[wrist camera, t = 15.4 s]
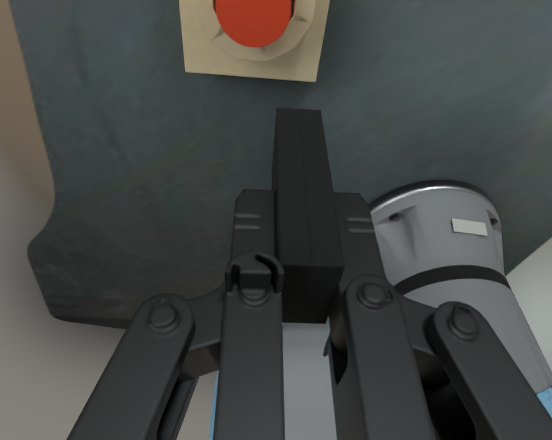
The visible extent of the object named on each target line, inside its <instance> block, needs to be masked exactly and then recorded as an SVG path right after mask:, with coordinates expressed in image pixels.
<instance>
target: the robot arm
mask: <svg viewBox="0 0 552 440" xmlns="http://www.w3.org/2000/svg"><path fill="white" fill-rule="evenodd" d="M328 315H329V317H328ZM217 370H218V373H217V378H216V383H215V388H214V395H213V402H212V410H211V418H210V430H209V440H552V372H551V370H550V368H549V365H548V363H547V362H546V359H545V357H544V355H543V353H542V351H541V349H540V347H539V345H538V343H537V341H536V339H535V337H534V335H533V333H532V331H531V329H530V327H529V325H528V323H527V320H526V318H525V316H524V315H523V312H522V310H521V308H520V306H519V304H518V302H517V300H516V298H515V296H514V294H513V292H512V290H511V288H510V286H509V284H508V282H507V279H506V277H505V274H504V265H503V249H502V234H501V223H500V219H499V216H498V213H497V211H496V209H495V207H494V205H493V203H492V201H491V200H490V198H489V197H488V196H487V195H486V194H485V193H484V192H483V191H481V190H480V189H478V188H476V187H474V186H472V185H469V184H466V183H462V182H457V181H448V180H437V181H426V182H420V183H415V184H411V185H407V186H404V187H401V188H398V189H396V190H393V191H391V192H389V193H387V194H385V195H383V196H381V197H380V198H378V199H377V200H375V201H373V202H372V203H371V204H370V205H368V204H367V203H366V202H365V200H364V199H363V198H362V196H361V195H360V194H359V193H337V192H333V187H332V181H331V174H330V168H329V161H328V155H327V149H326V142H325V136H324V130H323V123H322V117H321V111H320V110H308V109H291V108H277V113H276V125H275V138H274V150H273V163H272V191H271V190H249V189H243V191H242V192H241V194H240V195H239V197H238V198H237V200H236V201H235V212H234V223H233V235H232V246H231V257H230V261H229V262H228V264H227V267H226V270H225V282H224V283H223V284H222V285H221V286H220V287H219V288H217V289H216V290H214V291H213V292H211V293H208V294H206V295H203V296H199V297H196V298H192V299H188V300H186V299H185V298H183V297H181V296H179V295H176V294H166V293H164V294H160V295H156V296H153V297H151V298H150V299H148V300H147V301H145V302H144V303H142V305H141V306H140V307H139V308H138V310H137V311H136V312H135V314H134V316H133V318H132V320H131V322H130V323H129V325H128V327H127V329H126V331H125V333H124V335H123V336H122V338H121V340H120V342H119V344H118V346H117V348H116V349H115V351H114V353H113V355H112V357H111V359H110V361H109V362H108V364H107V366H106V368H105V370H104V372H103V373H102V375H101V377H100V379H99V381H98V383H97V384H96V386H95V388H94V390H93V392H92V394H91V395H90V397H89V399H88V401H87V403H86V405H85V407H84V408H83V410H82V412H81V414H80V416H79V418H78V420H77V421H76V423H75V425H74V427H73V429H72V431H71V432H70V434H69V436H68V438H67V440H176V438H177V436H178V433H179V430H180V428H181V425H182V422H183V420H184V417H185V414H186V412H187V409H188V406H189V403H190V400H191V398H192V395H193V392H194V390H195V387H196V384H197V382H198V379H199V376H201V375H204V374H208V373H211V372H214V371H217Z"/></svg>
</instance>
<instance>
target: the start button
mask: <svg viewBox="0 0 552 440" xmlns="http://www.w3.org/2000/svg"><path fill="white" fill-rule="evenodd" d="M216 13H217V18H218V21H219V23H220V25H221V27H222V29H223V30H224V32H225V33H226V34H227V35H228V36H229V37H230V38H231V39H232V40H234V41H235V42H237V43H238V44H241V45H243V46H247V47H263V46H266V45H269V44H271V43H273V42H274V41H276V40H277V39H278V38H279V37H280V36H281V35H282V34H283V33H284V31H285V30H286V28H287V26H288V23H289V20H290V16H291V1H290V0H216Z"/></svg>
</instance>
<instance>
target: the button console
mask: <svg viewBox="0 0 552 440" xmlns="http://www.w3.org/2000/svg"><path fill="white" fill-rule="evenodd" d="M290 1H291V16H290V20H289V23H288V26H287V28H286V30H285V31H284V33H283V34H282V35H281V36H280V37H279V38H278V39H277V40H276V41H274V42H273V43H271V44H269V45H266V46H263V47H247V46H243V45H241V44H238V43H237V42H235V41H234V40H232V39H231V38H230V37H229V36H228V35H227V34H226V33H225V32H224V30H223V29H222V27H221V25H220V23H219V21H218V18H217V13H216V0H179V6H180V17H181V28H182V39H183V51H184V62H185V71H186V72H192V73H205V74H218V75H230V76H243V77H256V78H269V79H281V80H294V81H307V82H316V77H317V71H318V66H319V60H320V54H321V49H322V43H323V37H324V32H325V26H326V20H327V15H328V9H329V3H330V0H290Z"/></svg>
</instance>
